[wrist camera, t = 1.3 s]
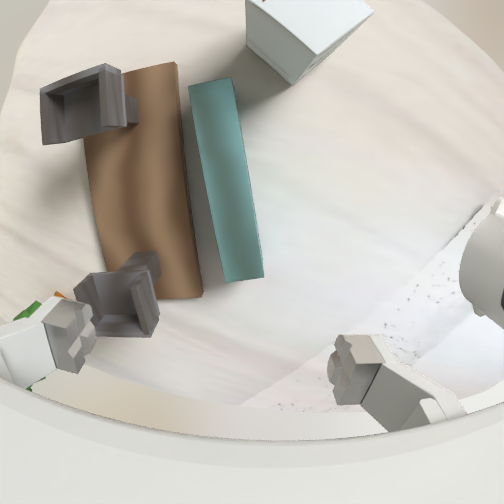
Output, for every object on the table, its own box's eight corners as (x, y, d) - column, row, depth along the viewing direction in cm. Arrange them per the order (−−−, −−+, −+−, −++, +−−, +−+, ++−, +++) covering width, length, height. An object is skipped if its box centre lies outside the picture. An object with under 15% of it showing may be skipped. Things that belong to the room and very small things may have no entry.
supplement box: (292, 88, 29) (315, 58, 17) (244, 45, 27) (241, -4, 15) (336, 51, 27) (378, 12, 15) (290, 10, 25) (308, -45, 14)
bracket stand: (177, 64, 28) (136, 27, 16) (203, 291, 38) (184, 358, 26) (86, 88, 28) (19, 75, 16) (120, 295, 38) (78, 353, 26)
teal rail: (234, 88, 29) (230, 77, 24) (262, 255, 36) (264, 277, 31) (198, 95, 30) (187, 86, 24) (229, 260, 37) (225, 282, 31)
